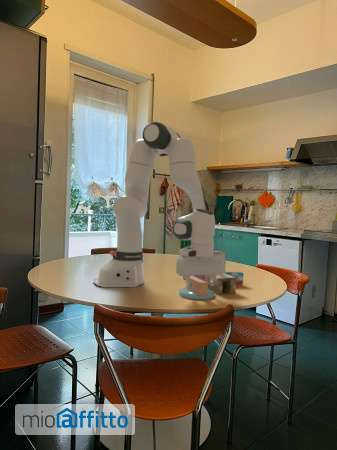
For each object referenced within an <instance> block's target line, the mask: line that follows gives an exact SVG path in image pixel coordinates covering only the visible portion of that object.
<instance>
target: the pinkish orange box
mask: <svg viewBox="0 0 337 450" xmlns="http://www.w3.org/2000/svg"><path fill="white" fill-rule="evenodd" d="M189 280H190V282H192V287H187V282H186V284H185V285H186V287H185V288H187V289H189V290H191V291H192V292H194V293H196V294H198V295H199V296H207V288H208V283H207V282H205V280H201V279H199V278H196V277H194V276H190V278H189Z"/></svg>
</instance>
